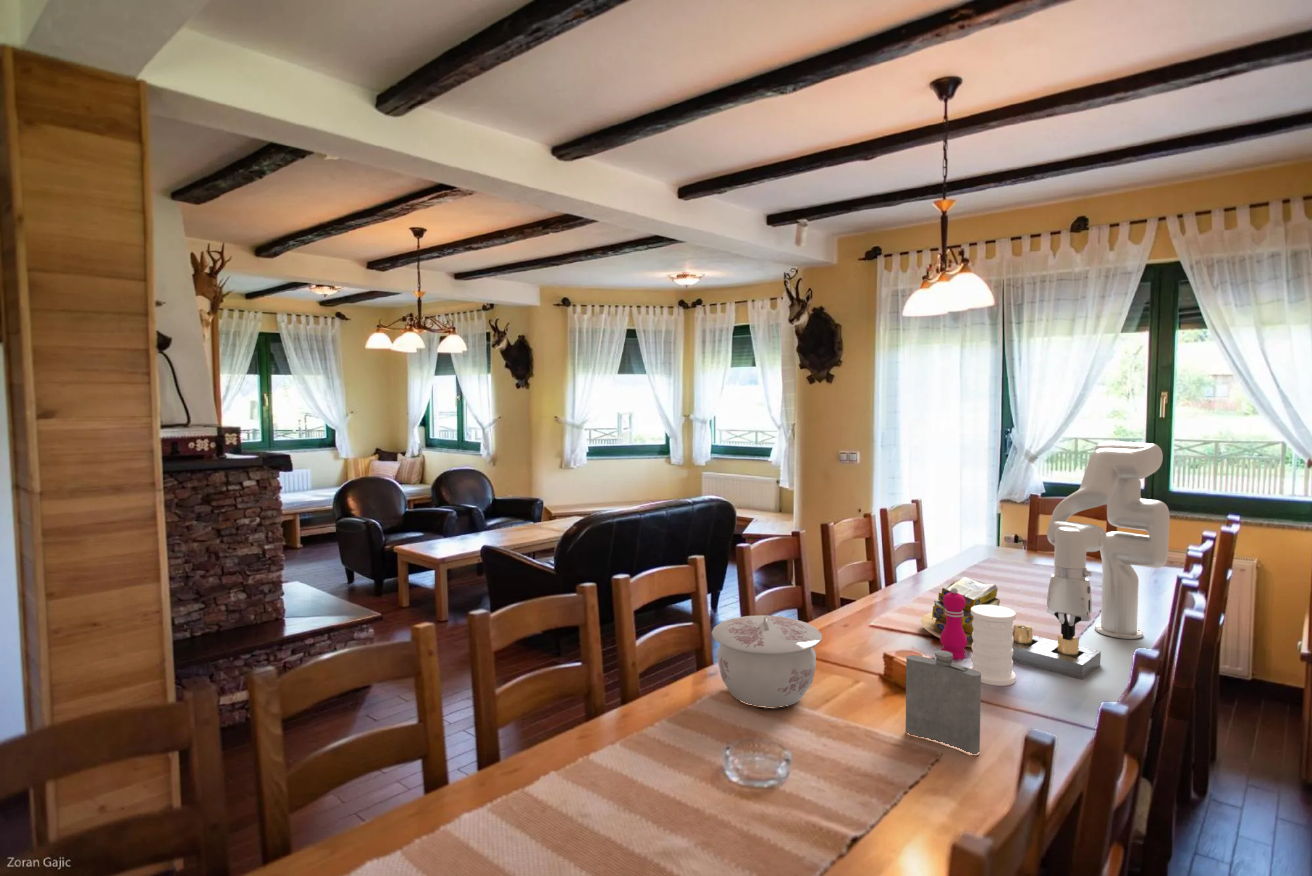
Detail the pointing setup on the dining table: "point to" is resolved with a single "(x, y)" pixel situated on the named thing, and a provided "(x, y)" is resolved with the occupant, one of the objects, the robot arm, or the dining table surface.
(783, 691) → the chamber pot
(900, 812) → the dining table surface
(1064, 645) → the bushing
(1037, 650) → the jig
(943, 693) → the hip flask
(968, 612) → the stacked packages on plate
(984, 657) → the decorative container
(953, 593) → the pepper mill
